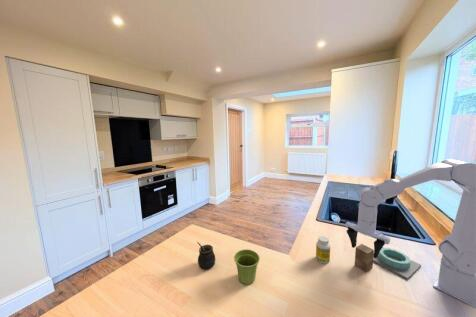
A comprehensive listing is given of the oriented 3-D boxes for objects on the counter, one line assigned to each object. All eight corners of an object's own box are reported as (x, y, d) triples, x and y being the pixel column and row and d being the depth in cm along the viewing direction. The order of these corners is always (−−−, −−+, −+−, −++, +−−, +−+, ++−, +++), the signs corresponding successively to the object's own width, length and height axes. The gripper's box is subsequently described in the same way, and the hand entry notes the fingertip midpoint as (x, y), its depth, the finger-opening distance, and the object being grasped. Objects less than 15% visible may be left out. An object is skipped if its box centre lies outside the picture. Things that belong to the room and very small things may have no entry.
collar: (421, 266, 71) (422, 258, 71) (407, 280, 65) (408, 271, 65) (382, 248, 83) (383, 242, 82) (367, 258, 76) (368, 251, 76)
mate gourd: (212, 274, 70) (211, 250, 69) (194, 271, 72) (192, 248, 70) (218, 261, 77) (216, 239, 76) (201, 259, 79) (200, 238, 77)
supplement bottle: (324, 254, 80) (325, 234, 78) (332, 263, 74) (333, 241, 73) (313, 256, 79) (314, 235, 78) (320, 264, 74) (321, 243, 72)
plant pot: (252, 266, 74) (252, 246, 72) (264, 284, 65) (264, 262, 64) (231, 273, 70) (230, 252, 69) (240, 292, 62) (239, 269, 60)
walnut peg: (372, 268, 71) (373, 249, 70) (366, 272, 69) (368, 253, 68) (360, 261, 75) (361, 243, 74) (354, 265, 73) (355, 247, 72)
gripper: (394, 223, 65) (391, 257, 67) (351, 210, 78) (349, 239, 79) (387, 229, 62) (383, 265, 63) (343, 214, 74) (341, 245, 76)
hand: (364, 251), depth 71 cm, fingers open, 7 cm apart
